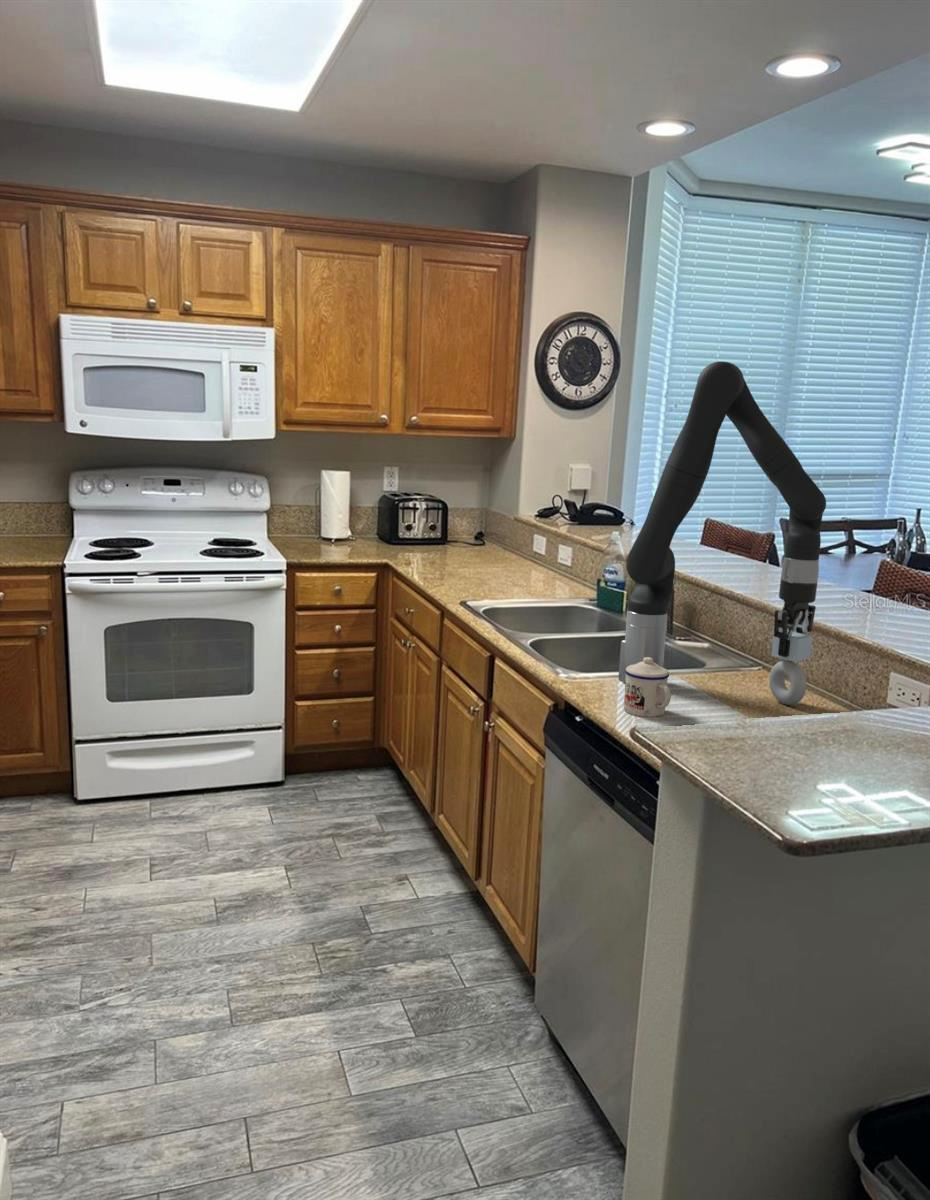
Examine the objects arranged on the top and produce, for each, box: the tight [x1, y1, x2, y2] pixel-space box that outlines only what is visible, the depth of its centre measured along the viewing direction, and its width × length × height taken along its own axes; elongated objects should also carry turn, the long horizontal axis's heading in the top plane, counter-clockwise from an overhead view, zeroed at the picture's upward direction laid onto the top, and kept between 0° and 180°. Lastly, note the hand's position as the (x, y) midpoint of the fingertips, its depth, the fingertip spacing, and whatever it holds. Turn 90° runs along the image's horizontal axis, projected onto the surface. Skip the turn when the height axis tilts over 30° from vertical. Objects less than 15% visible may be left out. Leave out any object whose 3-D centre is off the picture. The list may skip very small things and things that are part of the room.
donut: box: [768, 659, 808, 706], centre depth 203 cm, size 10×4×10 cm, turn 24°
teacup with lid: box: [623, 657, 672, 718], centre depth 193 cm, size 12×9×12 cm
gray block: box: [771, 630, 814, 663], centre depth 202 cm, size 6×6×5 cm
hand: (790, 653), depth 202 cm, fingers closed on gray block, 6 cm apart
